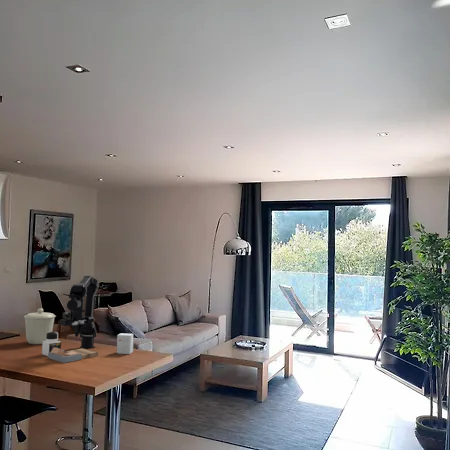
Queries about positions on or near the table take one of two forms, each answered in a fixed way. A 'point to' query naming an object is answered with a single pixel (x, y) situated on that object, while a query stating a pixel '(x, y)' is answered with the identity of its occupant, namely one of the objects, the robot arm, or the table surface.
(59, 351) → the tile
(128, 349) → the small box
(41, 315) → the canister
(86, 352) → the board
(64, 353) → the peach square block
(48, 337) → the medicine bottle
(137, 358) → the table surface
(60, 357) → the tray
